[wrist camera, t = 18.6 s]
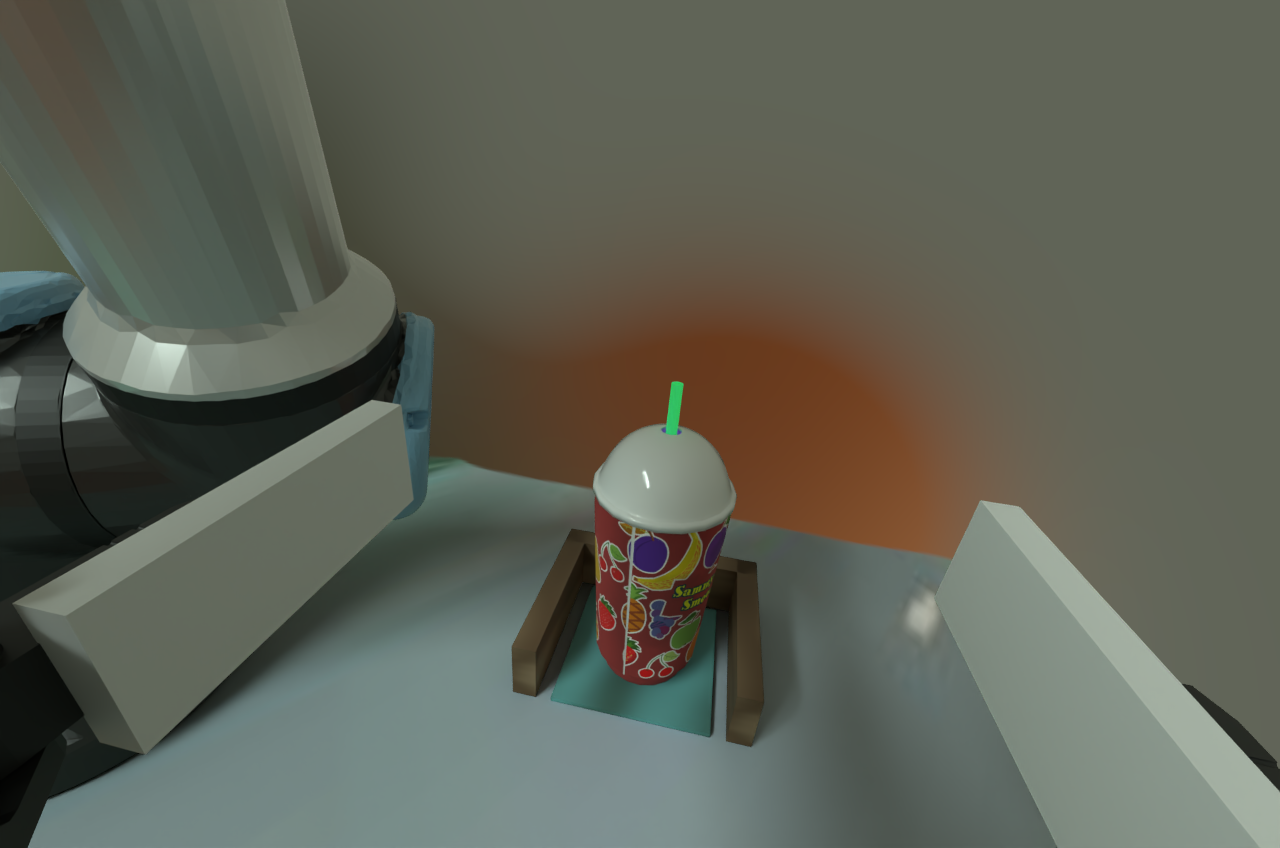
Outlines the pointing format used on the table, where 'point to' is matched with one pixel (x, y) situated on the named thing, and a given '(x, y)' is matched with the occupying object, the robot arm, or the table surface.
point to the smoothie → (657, 545)
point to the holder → (604, 691)
